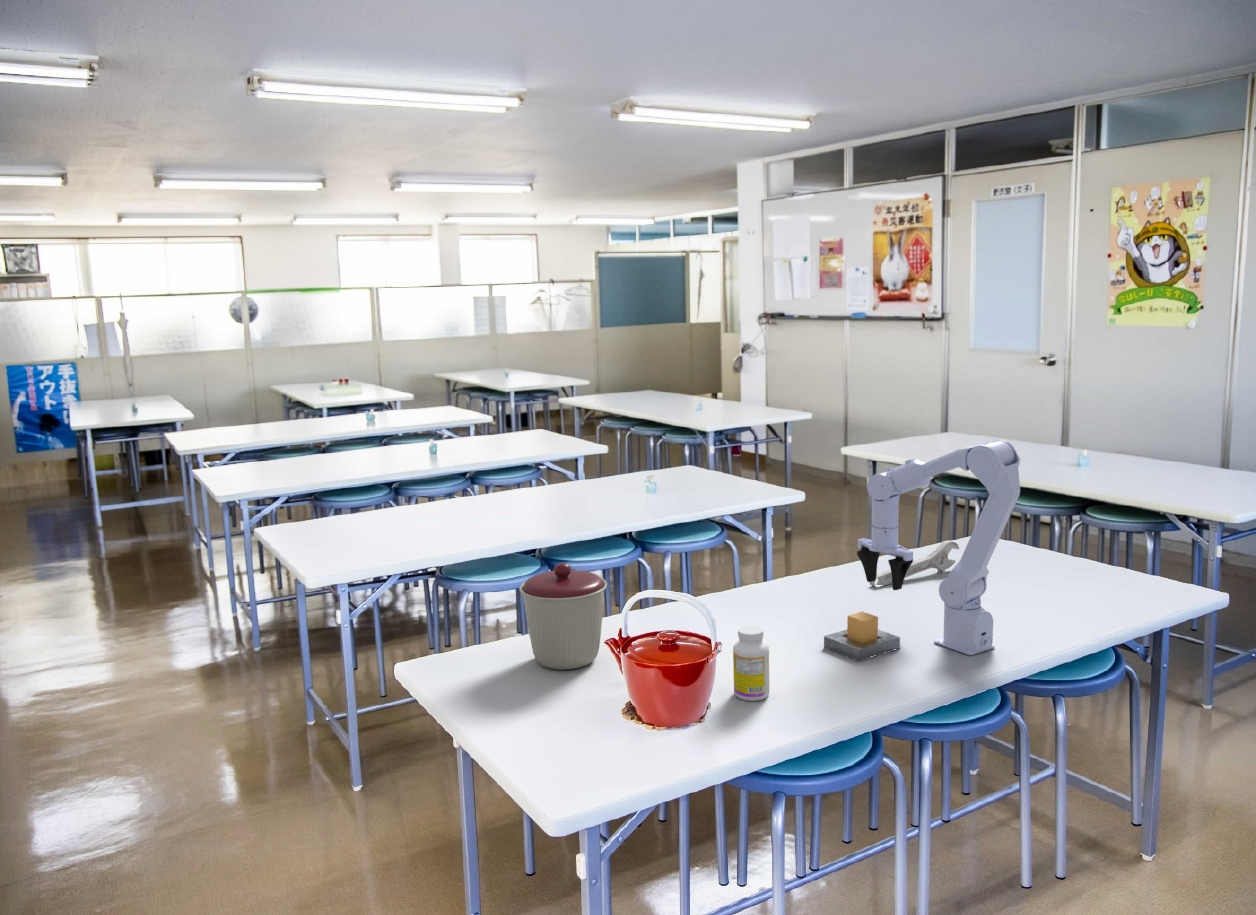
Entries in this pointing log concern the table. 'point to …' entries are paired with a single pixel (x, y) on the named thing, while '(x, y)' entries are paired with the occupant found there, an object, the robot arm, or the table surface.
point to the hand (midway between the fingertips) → (884, 585)
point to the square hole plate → (861, 645)
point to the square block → (862, 627)
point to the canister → (564, 616)
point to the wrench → (924, 563)
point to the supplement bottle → (751, 664)
